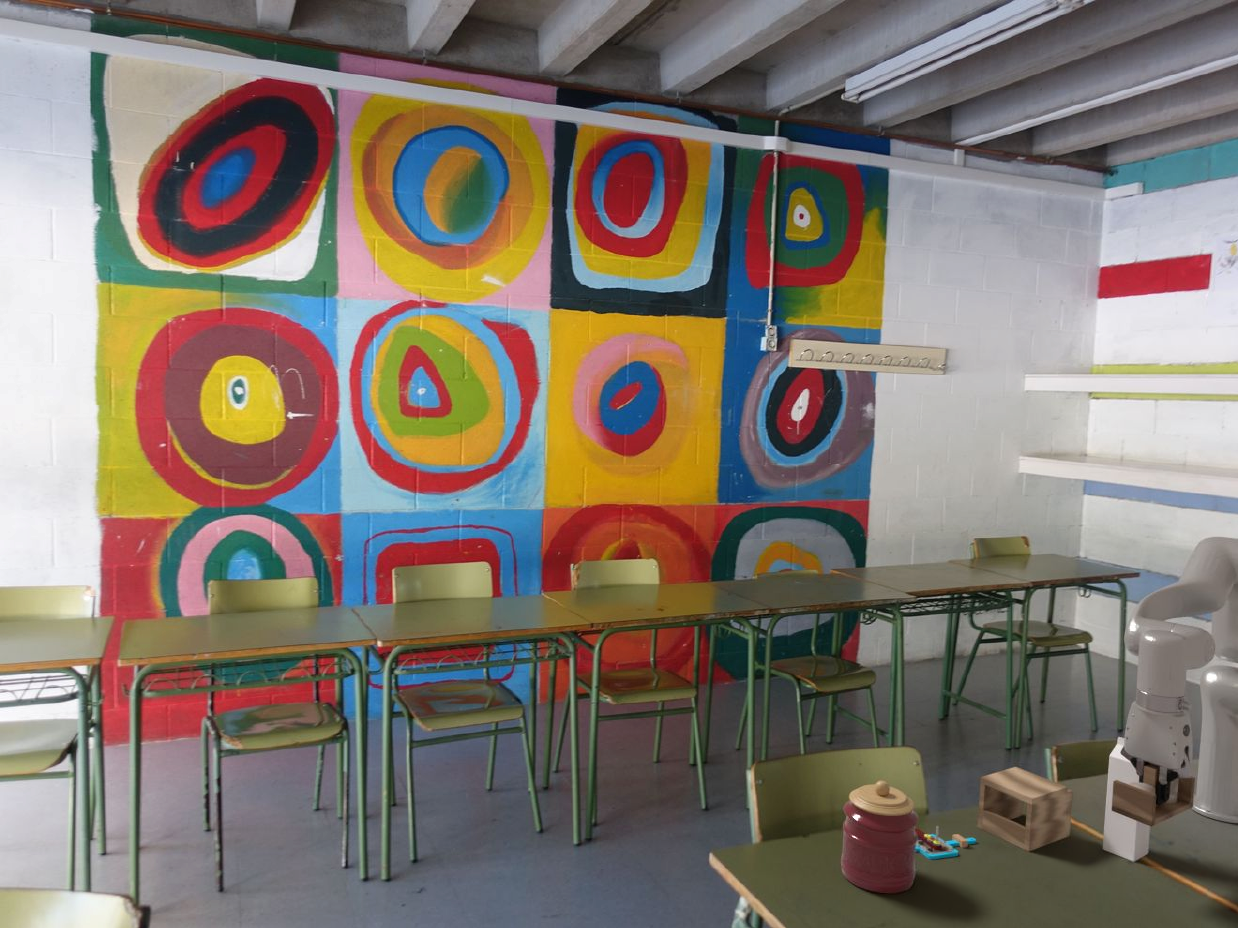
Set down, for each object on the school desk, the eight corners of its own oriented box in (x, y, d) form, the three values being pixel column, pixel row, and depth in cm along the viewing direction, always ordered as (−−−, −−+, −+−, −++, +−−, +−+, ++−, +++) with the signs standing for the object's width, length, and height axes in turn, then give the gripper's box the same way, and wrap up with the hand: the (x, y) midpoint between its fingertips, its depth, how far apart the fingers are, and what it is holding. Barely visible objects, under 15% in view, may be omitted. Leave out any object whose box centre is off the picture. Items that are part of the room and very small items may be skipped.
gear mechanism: (870, 843, 183) (899, 866, 174) (872, 816, 182) (901, 838, 173) (956, 831, 189) (988, 853, 180) (957, 805, 189) (989, 826, 180)
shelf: (1018, 813, 197) (1021, 764, 197) (1069, 835, 188) (1073, 784, 187) (977, 827, 190) (980, 776, 189) (1028, 851, 180) (1032, 798, 180)
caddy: (1153, 792, 175) (1156, 751, 175) (1192, 806, 170) (1195, 764, 169) (1111, 810, 168) (1114, 767, 167) (1151, 826, 162) (1154, 782, 161)
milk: (1133, 862, 178) (1142, 749, 176) (1101, 849, 183) (1110, 739, 181) (1148, 853, 181) (1157, 743, 180) (1116, 840, 186) (1124, 733, 184)
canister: (825, 865, 172) (830, 772, 171) (882, 853, 178) (887, 763, 176) (871, 900, 161) (876, 801, 159) (930, 887, 166) (936, 790, 164)
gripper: (1218, 710, 162) (1210, 812, 164) (1127, 684, 176) (1121, 778, 177) (1196, 718, 158) (1188, 822, 160) (1104, 691, 172) (1098, 787, 173)
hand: (1153, 798), depth 169 cm, fingers closed on caddy
